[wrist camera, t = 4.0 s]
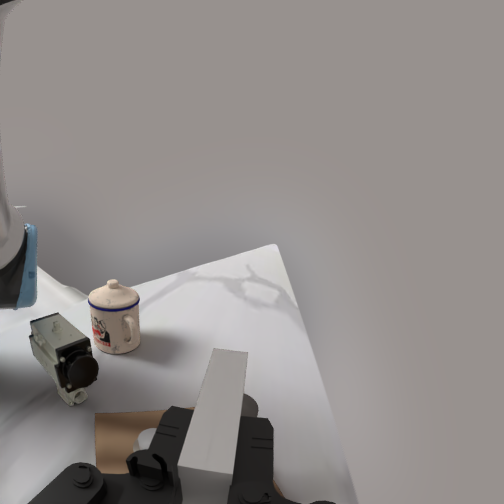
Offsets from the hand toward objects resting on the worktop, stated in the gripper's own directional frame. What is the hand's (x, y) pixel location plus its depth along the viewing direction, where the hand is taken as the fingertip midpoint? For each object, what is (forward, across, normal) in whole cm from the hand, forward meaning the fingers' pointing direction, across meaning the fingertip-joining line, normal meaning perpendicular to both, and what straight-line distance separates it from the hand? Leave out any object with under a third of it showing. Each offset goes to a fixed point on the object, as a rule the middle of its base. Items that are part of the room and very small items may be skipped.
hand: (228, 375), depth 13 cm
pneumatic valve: (+16, -23, -22) cm, 35 cm away
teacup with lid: (+32, -22, -22) cm, 44 cm away
